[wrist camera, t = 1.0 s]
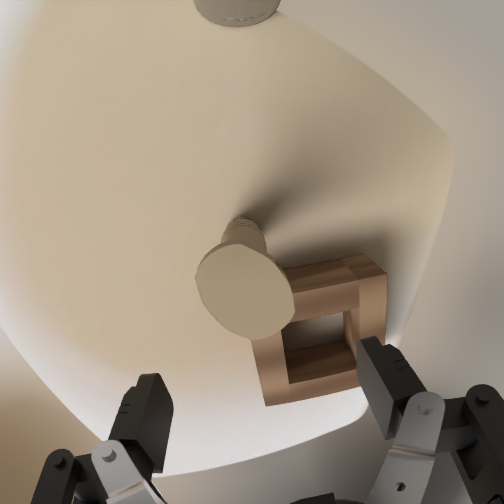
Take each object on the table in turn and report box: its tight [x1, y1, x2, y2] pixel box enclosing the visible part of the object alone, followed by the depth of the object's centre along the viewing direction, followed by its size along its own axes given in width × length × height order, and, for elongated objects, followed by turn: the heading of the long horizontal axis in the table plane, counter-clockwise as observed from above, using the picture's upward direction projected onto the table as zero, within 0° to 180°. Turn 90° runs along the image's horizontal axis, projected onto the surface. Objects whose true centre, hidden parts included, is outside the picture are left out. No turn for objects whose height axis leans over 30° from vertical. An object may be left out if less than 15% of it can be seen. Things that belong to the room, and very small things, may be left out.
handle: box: [195, 217, 295, 340], centre depth 25 cm, size 5×6×15 cm
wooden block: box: [251, 254, 387, 407], centre depth 33 cm, size 14×14×6 cm
